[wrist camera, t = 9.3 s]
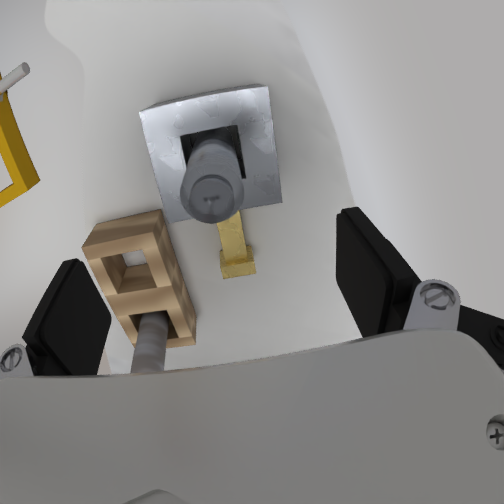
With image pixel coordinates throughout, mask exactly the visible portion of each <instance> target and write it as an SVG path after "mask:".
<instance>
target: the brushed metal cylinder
mask: <svg viewBox="0 0 504 504" xmlns="http://www.w3.org/2000/svg"><path fill="white" fill-rule="evenodd" d="M180 200H181V203H182V206H183V207H184V209H185V211H186V212H187V213H188V214H189V215H190V216H191V217H193V218H194V219H196V220H198V221H201V222H204V223H210V224H214V223H219V222H223V221H225V220H227V219H229V218H231V217H232V216H234V215H235V214H236V213H237V212H238V210H239V209H240V207H241V205H242V203H243V200H244V187H243V182H242V178H241V173H240V169H239V164H238V160H237V155H236V151H235V147H234V142H233V138H232V135H231V132H230V131H229V130H228V129H227V128H226V127H220V128H215V129H209V130H204V131H199V132H198V134H197V137H196V140H195V143H194V146H193V149H192V152H191V155H190V158H189V161H188V164H187V168H186V171H185V174H184V177H183V181H182V184H181V188H180Z"/></svg>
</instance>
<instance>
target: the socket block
mask: <svg viewBox="0 0 504 504" xmlns="http://www.w3.org/2000/svg"><path fill="white" fill-rule="evenodd" d="M139 115H140V119H141V123H142V127H143V131H144V135H145V140H146V144H147V147H148V151H149V155H150V159H151V163H152V167H153V170H154V174H155V178H156V181H157V185H158V189H159V192H160V196H161V199H162V203H163V206H164V210H165V213H166V216H167V220H168V223H173V222H178V221H183V220H188V219H193V217H191V216H190V215H189V214H188V213H187V212H186V211H185V209H184V207H183V206H182V203H181V200H180V188H181V184H182V181H183V177H184V174H185V171H186V168H187V164H188V161H189V158H190V155H191V152H192V148H191V143H190V138H189V134H190V133H195V132H199V131H204V130H209V129H215V128H220V127H225V126H231V125H236V130H237V136H238V142H239V148H240V154H241V159H238V164H239V169H240V173H241V178H242V182H243V187H244V200H243V203H242V205H241V207H240V209H239V210H241V209H247V208H253V207H259V206H264V205H270V204H276V203H282V195H281V186H280V178H279V169H278V161H277V153H276V144H275V137H274V129H273V121H272V114H271V107H270V99H269V92H268V86H264V85H260V84H254V85H247V86H240V87H234V88H228V89H222V90H217V91H211V92H206V93H201V94H196V95H191V96H187V97H182V98H178V99H174V100H169V101H165V102H161V103H158V104H154V105H152V106H150V107H148V108H146V109H144V110H142V111H140V112H139Z"/></svg>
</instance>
